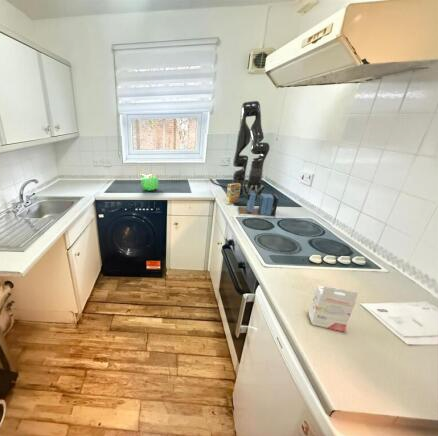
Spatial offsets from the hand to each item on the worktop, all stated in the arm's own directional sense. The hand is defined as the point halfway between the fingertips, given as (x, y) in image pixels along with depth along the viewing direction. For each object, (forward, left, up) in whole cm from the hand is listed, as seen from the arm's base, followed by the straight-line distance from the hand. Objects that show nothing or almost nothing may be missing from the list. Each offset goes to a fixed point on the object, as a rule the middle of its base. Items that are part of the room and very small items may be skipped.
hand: (251, 199), depth 160 cm
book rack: (0, +4, -9) cm, 10 cm away
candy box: (-18, -10, -10) cm, 23 cm away
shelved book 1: (0, +8, -8) cm, 11 cm away
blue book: (0, 0, -7) cm, 7 cm away
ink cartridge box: (+96, +12, -10) cm, 97 cm away
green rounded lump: (-39, -81, -10) cm, 91 cm away
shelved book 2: (0, +11, -8) cm, 14 cm away
